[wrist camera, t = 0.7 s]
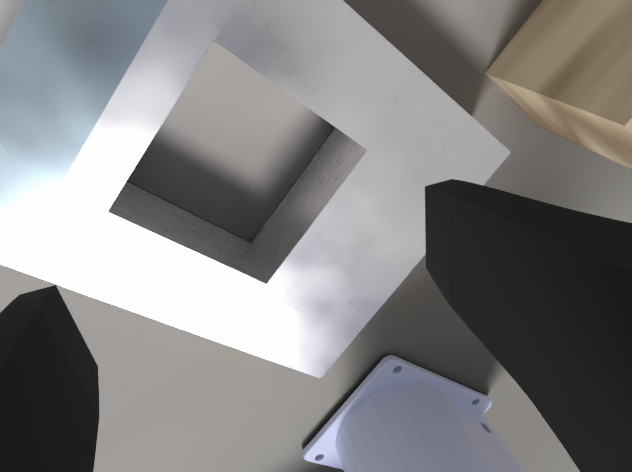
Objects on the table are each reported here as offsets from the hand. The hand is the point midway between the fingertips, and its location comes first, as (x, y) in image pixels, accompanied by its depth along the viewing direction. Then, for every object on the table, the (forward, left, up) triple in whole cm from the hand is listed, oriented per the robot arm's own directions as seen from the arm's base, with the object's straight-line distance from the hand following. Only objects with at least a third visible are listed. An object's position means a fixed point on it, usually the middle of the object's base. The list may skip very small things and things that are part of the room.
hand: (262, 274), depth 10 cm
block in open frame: (-1, 0, -10) cm, 10 cm away
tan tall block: (-10, -10, -10) cm, 17 cm away
